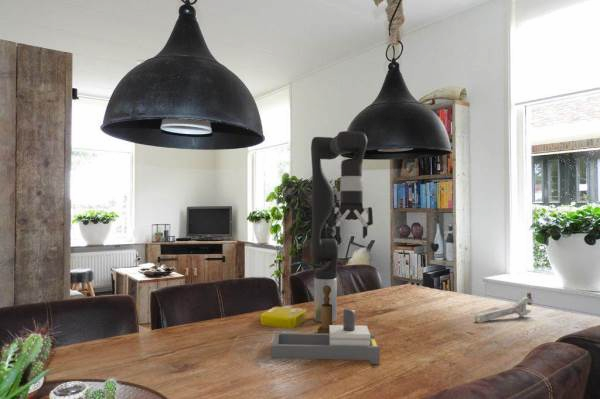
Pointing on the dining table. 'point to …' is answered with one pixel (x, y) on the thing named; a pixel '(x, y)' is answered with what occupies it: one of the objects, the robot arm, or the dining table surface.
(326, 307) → the brown wooden tall piece
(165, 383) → the dining table surface
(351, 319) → the white plate with knob
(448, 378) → the dining table surface
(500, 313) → the wrench
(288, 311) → the element tile
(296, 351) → the bay
